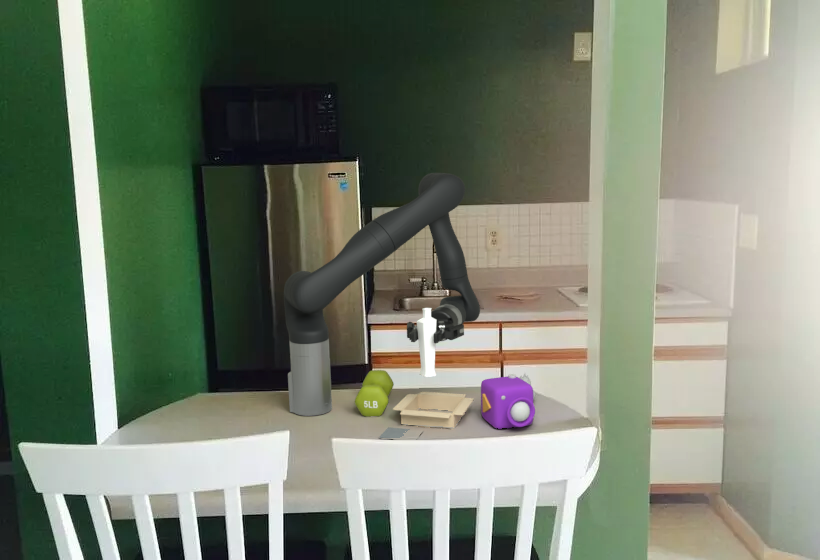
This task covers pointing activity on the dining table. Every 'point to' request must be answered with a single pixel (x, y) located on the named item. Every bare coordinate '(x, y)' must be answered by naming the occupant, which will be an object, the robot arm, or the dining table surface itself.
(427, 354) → the white vase
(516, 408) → the toy camera
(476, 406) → the dining table surface
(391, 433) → the mat
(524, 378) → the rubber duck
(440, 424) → the carton
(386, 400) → the dumbbell
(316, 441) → the dining table surface
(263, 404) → the dining table surface
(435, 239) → the robot arm
